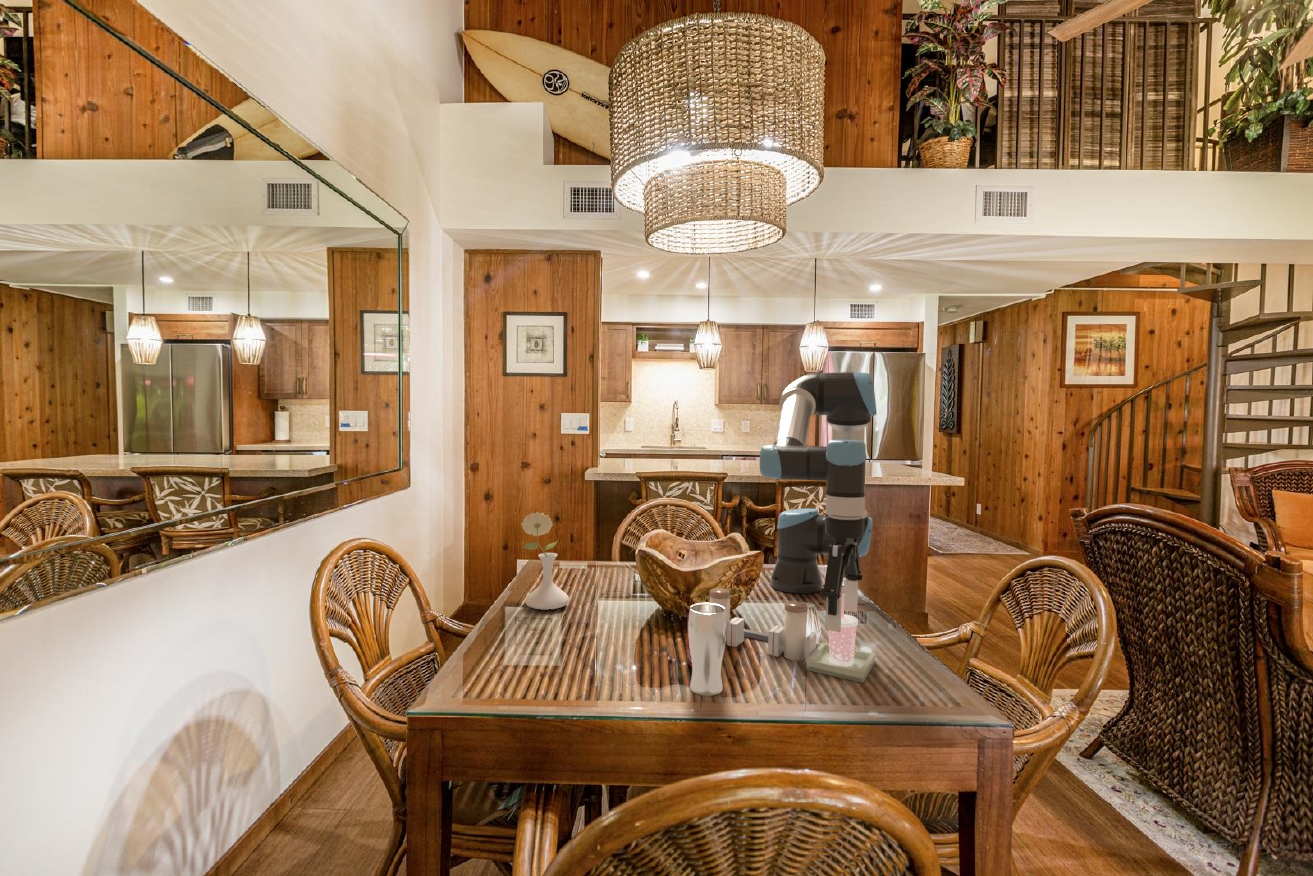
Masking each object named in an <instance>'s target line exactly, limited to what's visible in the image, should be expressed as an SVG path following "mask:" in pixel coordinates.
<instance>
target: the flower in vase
mask: <svg viewBox="0 0 1313 876" xmlns="http://www.w3.org/2000/svg"><path fill="white" fill-rule="evenodd" d="M520 525H521V527H522V529H523V530H524V533H526V534H528V535H532V536H533V537H536V540H537V542H533V541H530V542H529V541H528V542H527V543H526V544H524V545H523V547H522V549H526V550H531V551H535V550H536V549H537V548H538V547H539V548H540V549H541V551H542V553H539V554H538V558H539V559H540V562H541V563H542V569H543V570H542V571H543V575H542V582H541V584H540V585H538V587H536V588H535V589H534V590H533V591H531V592H530V593H529V594H528V595H527V596H526V598H525V604H526V605H527V607H529V608H532V609H535V610H539V609H540V610H541V611H546V610H547V611H550V610H549V609H551V610H556V609H559V608H563V607H565V606H567V605H568V603H569V602H570V597H569V596H568V594H567V593H566V592H565V591H563V589H561V588H560V587H558V586H557V585H556V584H555V583H554V580H553V566H554V562H555V560H556V558H558V553H555V552H546V551H548V550H551V549H553V548H554V547H556V545H557V543H558V540H556V541H555V542H552V543H548V544H547V545H546V546H545V547H544V548H543V547H542V546H541V544H540V542H539V541H540V540H539V537H541V536H543V535H545V534H547V533H548V534H549V533H550V530H551V529H552V527H553V525H554V524H553V521H552V518H551V517H550V515H549V514H548V515H547V514H545V513H544V512H541V513H540V512H539V511H536V512H531V513H530V514H527V515H526V516H525V517H524V519H523V520H522V522H521V523H520Z"/></svg>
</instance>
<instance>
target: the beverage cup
mask: <svg viewBox="0 0 1313 876" xmlns="http://www.w3.org/2000/svg"><path fill="white" fill-rule="evenodd" d="M841 598H842V601H841V632H836V631H831V630H827V631H828V644H829V654H830V662H831V663H832V664H834V665H839V666H843V667H848V666H852V665H853V663H854V651H855V650H856V649H855V647H856V638H857V637H856V636H857V626H858V625H859V619H858V618H857V617H855V616H853V615H851V614H846V613H845V610H844V593H841Z"/></svg>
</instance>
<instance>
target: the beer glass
mask: <svg viewBox="0 0 1313 876" xmlns="http://www.w3.org/2000/svg"><path fill="white" fill-rule="evenodd" d="M698 603H699V604H697V603H694V605H693V604H692V605H690V607H689V612H690V615H689V627H688V637H689V646H690V653H691V659H692V666H691V667H692V669H691V671H692V672H691V677H690V678H691V679H690V684H689V689H690V691H691V692H692V693H694V694H696V695H699V696H702V697H712V696H717V695H718V696H719V695H720V694H721V693H722V692H723V691H724V690H723V689H724V686H723V685H724V684H723V679H722V663H723V659H724V654H725V649H726V643H727V642H726V614H725V608H724V607H723V606H721V605H718V604H712V603H710V602H698ZM725 642H726V643H725Z"/></svg>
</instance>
